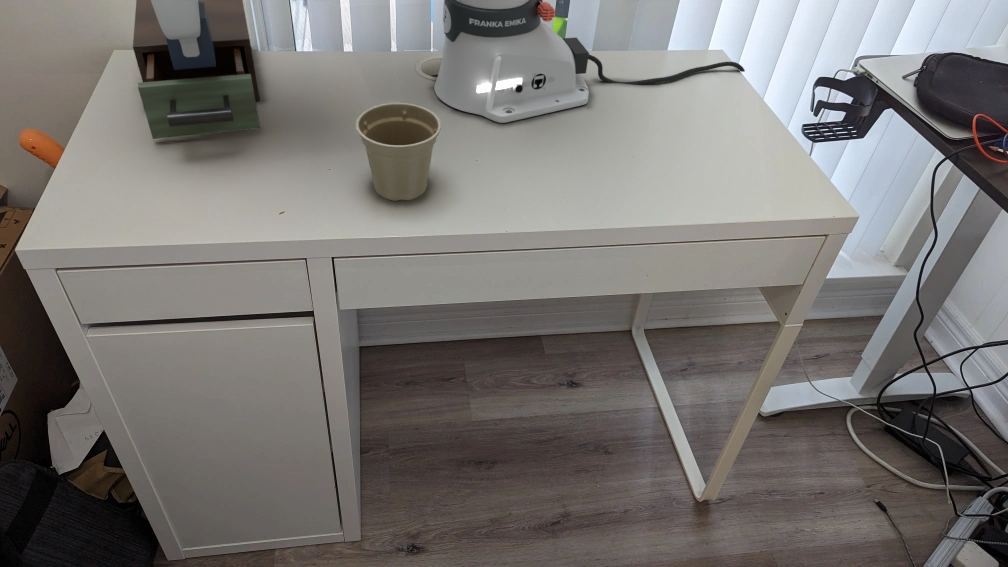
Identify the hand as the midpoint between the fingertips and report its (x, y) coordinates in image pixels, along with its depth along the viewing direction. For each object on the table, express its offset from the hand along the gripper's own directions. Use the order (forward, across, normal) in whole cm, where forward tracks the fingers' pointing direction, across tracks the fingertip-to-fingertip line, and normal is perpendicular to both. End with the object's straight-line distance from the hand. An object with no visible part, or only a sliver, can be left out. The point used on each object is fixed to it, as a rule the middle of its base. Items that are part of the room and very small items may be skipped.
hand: (191, 43), depth 87 cm
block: (+2, 0, 0) cm, 2 cm away
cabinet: (+10, -12, 0) cm, 16 cm away
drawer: (+9, +1, 0) cm, 9 cm away
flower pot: (+11, +20, +21) cm, 31 cm away
